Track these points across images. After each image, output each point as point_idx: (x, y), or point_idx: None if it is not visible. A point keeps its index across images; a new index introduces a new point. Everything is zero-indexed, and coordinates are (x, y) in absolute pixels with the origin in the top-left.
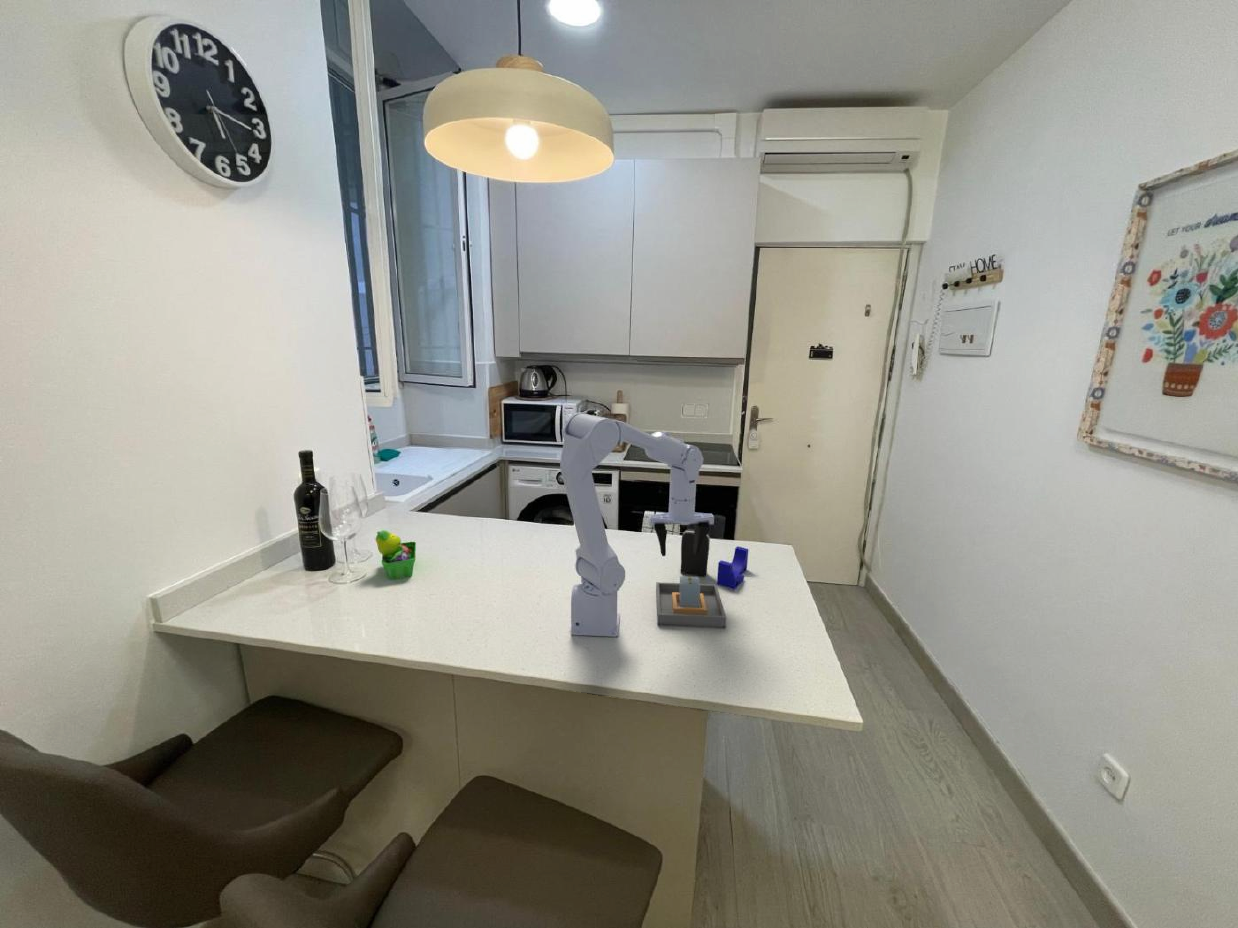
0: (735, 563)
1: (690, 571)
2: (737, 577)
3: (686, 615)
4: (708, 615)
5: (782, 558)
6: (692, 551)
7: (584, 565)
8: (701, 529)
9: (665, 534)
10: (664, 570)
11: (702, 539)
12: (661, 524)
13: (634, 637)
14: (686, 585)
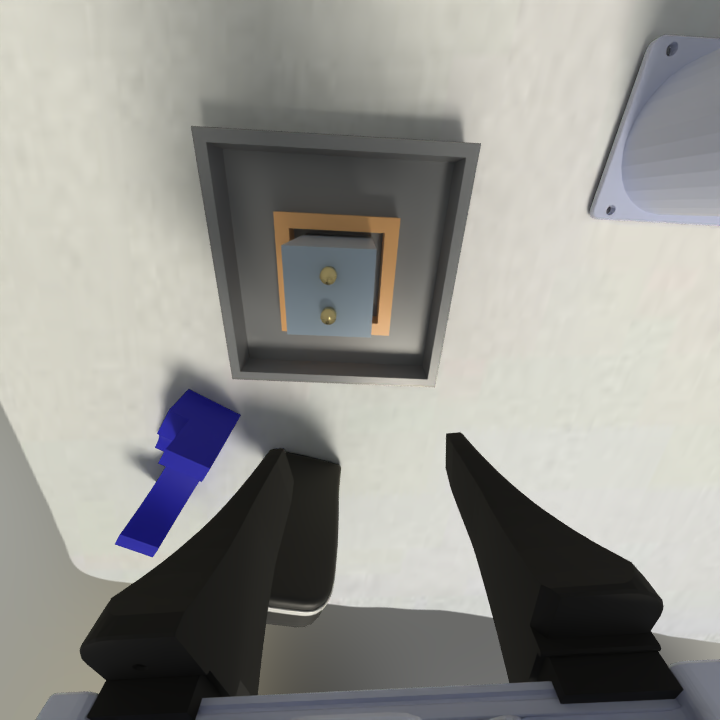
0: (176, 494)
1: (313, 464)
2: (164, 421)
3: (360, 137)
4: (266, 142)
5: (69, 531)
6: (299, 522)
7: None
8: (168, 622)
9: (530, 553)
10: (383, 474)
11: (212, 527)
12: (599, 686)
13: (577, 46)
14: (351, 247)
